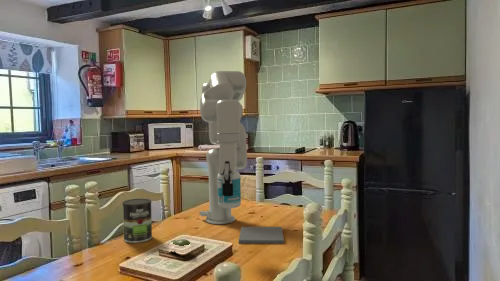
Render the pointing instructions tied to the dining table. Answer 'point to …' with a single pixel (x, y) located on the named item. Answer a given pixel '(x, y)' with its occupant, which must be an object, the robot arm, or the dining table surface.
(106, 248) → the dining table surface
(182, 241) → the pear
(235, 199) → the pill bottle
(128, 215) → the coffee can
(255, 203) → the dining table surface
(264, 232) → the plate
